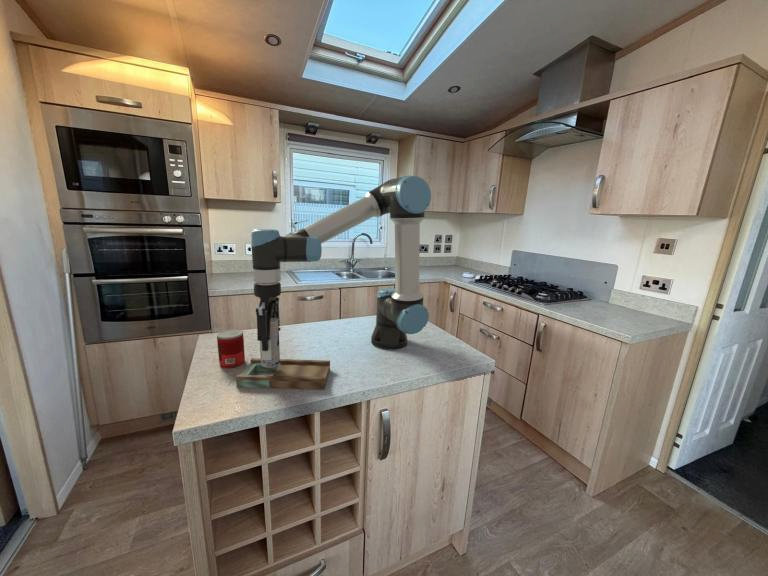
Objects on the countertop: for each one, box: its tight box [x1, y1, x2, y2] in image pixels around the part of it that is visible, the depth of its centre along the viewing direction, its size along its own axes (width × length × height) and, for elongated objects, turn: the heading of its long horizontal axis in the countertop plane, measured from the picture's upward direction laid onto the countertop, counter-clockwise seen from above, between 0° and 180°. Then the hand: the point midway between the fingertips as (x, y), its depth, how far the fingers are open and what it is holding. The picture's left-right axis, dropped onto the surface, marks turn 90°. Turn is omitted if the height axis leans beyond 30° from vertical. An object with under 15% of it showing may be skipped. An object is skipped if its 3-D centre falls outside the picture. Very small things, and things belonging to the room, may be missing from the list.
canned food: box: [216, 328, 246, 369], centre depth 105 cm, size 8×8×11 cm
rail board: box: [235, 357, 331, 391], centre depth 98 cm, size 26×12×4 cm, turn 91°
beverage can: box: [259, 318, 281, 368], centre depth 95 cm, size 6×6×15 cm
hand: (270, 354), depth 96 cm, fingers closed on beverage can, 5 cm apart
